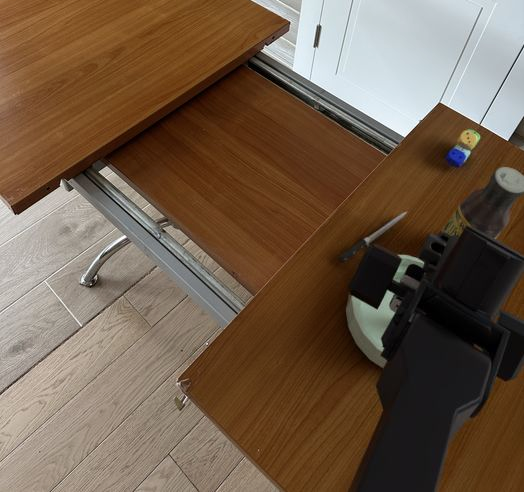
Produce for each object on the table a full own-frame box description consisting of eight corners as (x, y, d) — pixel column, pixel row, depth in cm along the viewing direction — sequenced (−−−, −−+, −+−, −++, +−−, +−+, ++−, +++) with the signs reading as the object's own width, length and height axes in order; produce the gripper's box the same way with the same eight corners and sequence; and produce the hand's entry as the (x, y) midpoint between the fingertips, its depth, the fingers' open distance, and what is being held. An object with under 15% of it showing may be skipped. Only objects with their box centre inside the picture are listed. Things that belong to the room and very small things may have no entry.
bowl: (478, 332, 71) (491, 318, 67) (405, 404, 64) (416, 392, 60) (396, 251, 78) (404, 236, 75) (322, 308, 71) (328, 293, 68)
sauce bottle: (422, 246, 79) (471, 164, 64) (454, 232, 81) (508, 150, 66) (449, 282, 75) (507, 204, 60) (482, 267, 77) (546, 188, 63)
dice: (454, 175, 89) (468, 151, 84) (440, 167, 90) (453, 142, 85) (473, 150, 94) (487, 125, 89) (460, 142, 95) (473, 118, 90)
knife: (403, 215, 83) (407, 208, 81) (406, 218, 82) (410, 211, 81) (337, 262, 76) (339, 256, 75) (340, 266, 76) (342, 259, 74)
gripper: (580, 306, 45) (543, 270, 60) (383, 208, 51) (394, 197, 66) (522, 414, 46) (499, 353, 61) (335, 307, 52) (356, 274, 67)
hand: (436, 290), depth 64 cm, fingers closed
